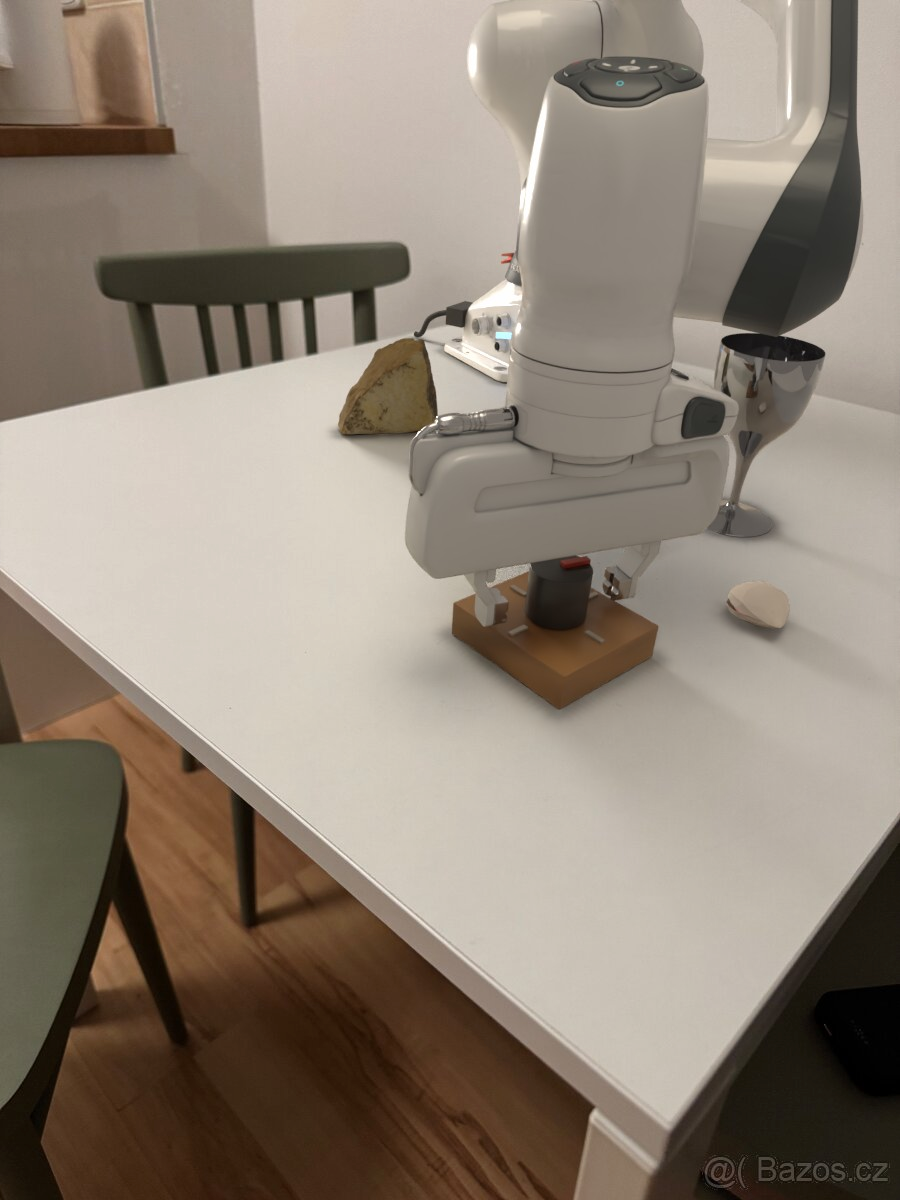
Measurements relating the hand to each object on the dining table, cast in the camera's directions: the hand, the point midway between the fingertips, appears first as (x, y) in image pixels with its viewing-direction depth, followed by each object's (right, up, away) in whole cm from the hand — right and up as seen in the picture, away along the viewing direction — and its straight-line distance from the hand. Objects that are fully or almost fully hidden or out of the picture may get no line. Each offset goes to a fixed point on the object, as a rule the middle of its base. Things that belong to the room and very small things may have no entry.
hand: (555, 607), depth 54 cm
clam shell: (+15, -1, +5) cm, 16 cm away
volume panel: (0, -3, +2) cm, 3 cm away
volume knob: (0, 0, 0) cm, 0 cm away
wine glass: (+18, +8, +20) cm, 28 cm away
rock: (-13, +18, +34) cm, 41 cm away
